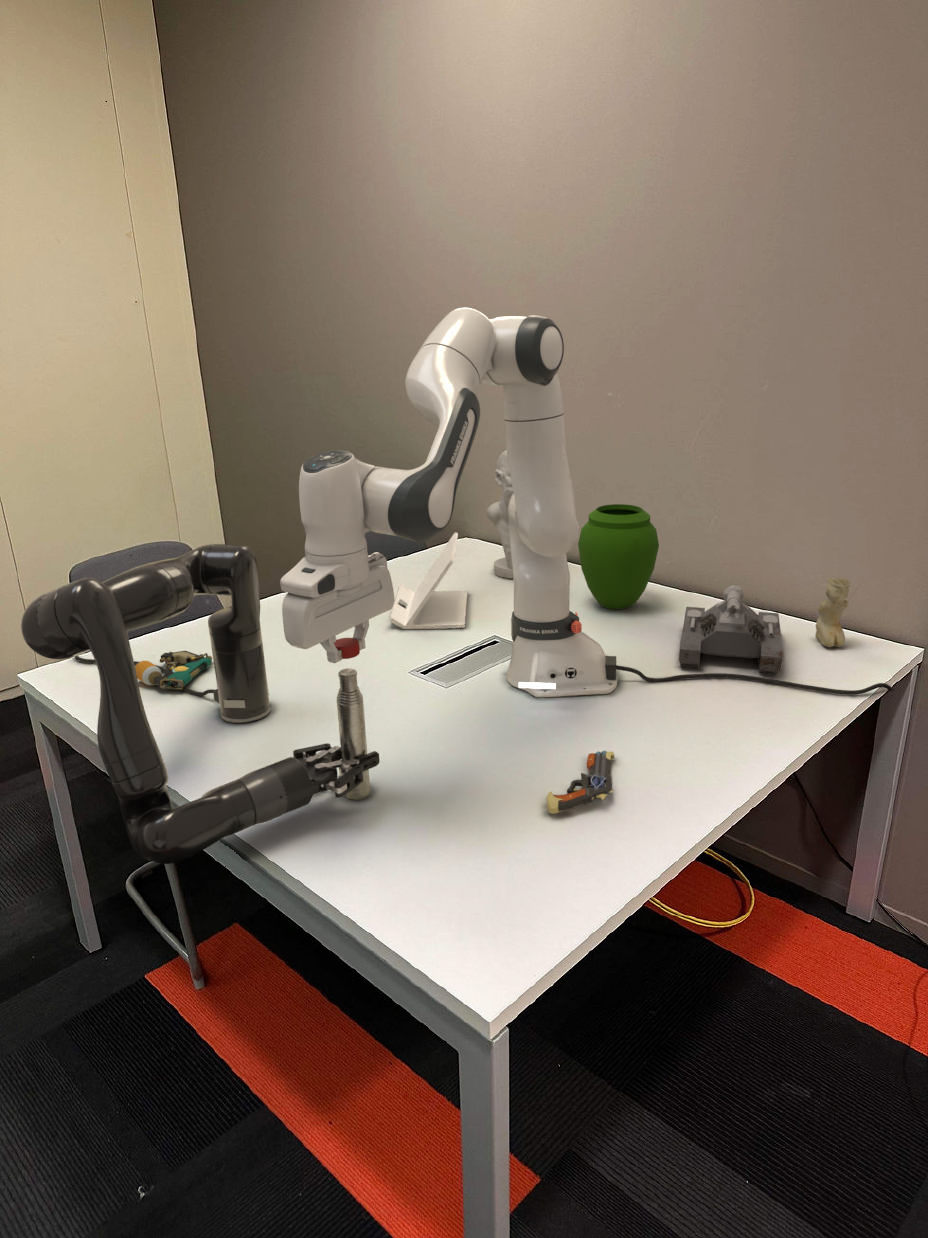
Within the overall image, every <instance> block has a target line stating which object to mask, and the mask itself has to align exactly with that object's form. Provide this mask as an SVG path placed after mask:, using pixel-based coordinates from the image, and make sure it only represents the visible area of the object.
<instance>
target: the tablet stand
mask: <svg viewBox="0 0 928 1238" xmlns="http://www.w3.org/2000/svg"><path fill="white" fill-rule="evenodd" d="M458 537H459V533H458V532H456V531H455V532H453V534H452V535H451V537H450V539H449V540H448V542H447V543H446V544H445V546H444V548H443V549H442V551H441V552H440V554H439V555H438V556H437V558H436V559H435V561H434V562H433V564H432V565H431V567H430V568H429V569H428V571H427V573H426V574H425V575H424V577H423V579H422V580H421V581H420V583H419V584H418V585H417V587H416V589H415V590H412V589H410V588H409V587H407V586H406V585H403V584H400V585H399V586H398V589H397V591H396V595H395V597H394V604H393V607H392V609H390V612H389V613H390V614H389V617H388V621H389V622H391V623H392V624H394V625H396V626H398V627H399V628H401V629H402V630H426V629H427V630H429V629H430V630H431V629H435V630H436V629H437V630H438V629H464V628H465V627H466V618H467V617H466V616H467V605H468V591H467V590H436V589H437V587H438V585H440V582H441V581H442V580H443V578H444V577H445V575H446V574H447V573H448V571H449V570H450V569H451V567H452V566H453V564H454V562H455V558H456V553H457V545H458ZM399 603H400V604H399ZM402 605H403V606H405V607H403V606H402Z"/></svg>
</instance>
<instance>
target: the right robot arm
mask: <svg viewBox="0 0 928 1238" xmlns="http://www.w3.org/2000/svg"><path fill="white" fill-rule="evenodd" d="M564 343H565V342H564V338H563V334H562V332H561V329H560V328H559V327H558V325H557V324H556V323H555V321H554V320H553V319H551V318H549V317H545V316H540V315H535V314H534V315H533V314H532V315H527V316H517V315H516V316H514V315H513V316H512V315H510V316H509V315H507V316H498V317H495V318H488V316H486V315H485V314H484V313H482V312H481V311H479V310H477V309H475V308H471V307H458V308H454V309H453V310H451V311H450V312H449V313H447V314H446V315H445V316H444V317H443V318H442V319H441V321H439V323H437V325H436V326H435V327H434V329H432V331H431V332H430V333H429V335H428V336H427V337H426V338H425V340H424V342H423V343H422V345H421V347H420V348H419V349H418V351H417V352H416V355H415V356H414V357H413V359H412V360H411V363H410V365H409V367H408V369H407V371H406V375H405V380H404V382H405V383H404V385H405V391H406V395H407V397H408V400H409V402H410V404H411V406H412V407H413V408H414V409H415V410H416V412H417V413H418V414H419V415H420V416H421V417H422V418H424V419H425V420H426V421H427V422H429V423H431V424H433V425H435V426H437V427H438V428H437V431H436V434H435V437H434V439H433V442H432V445H431V447H430V450H429V453H428V455H427V458H426V460H425V462H424V463H423V464H421V465H420V466H418V467H415V468H412V469H401V468H390V467H385V466H377V465H373V464H370V463H366V462H363V461H361V460H359V459H358V458H356V457H355V456H354V454H353V453H352V452H350V451H348V450H343V449H342V450H341V449H335V450H329V451H322V452H319V453H316V454H314V455H311V456H309V457H308V458H307V459H305V460H304V462H303V463H302V465H301V468H300V472H299V480H298V498H299V500H298V501H299V510H300V511H299V512H300V519H301V523H302V525H303V528H304V531H305V543H304V553H305V556H304V557H302V558H301V559H300V560H299V562H297V564H296V565H294V566H293V568H291V569H290V570H289V571H288V572H287V573H285V574H284V575H283V576H282V577H281V578H280V581H279V584H280V589H281V591H282V592H285V593H286V594H285V596H284V598H283V600H282V605H281V613H282V614H281V615H282V625H283V633H284V639H285V641H286V642H287V643H288V644H289V645H290V646H291V647H294V648H298V649H302V650H309V649H311V648H312V647H315V646H317V645H319V644H320V645H321V647H322V648H323V649H324V650H325V651H326V659H327V661H328V662H329V663H331V664H337V663H339V662H340V661H342V660H344V659H343V656H342V649H337V648H336V646H335V645H334V643H333V642H336V640H337V636H338V635H340V634H342V633H344V632H346V631H349V630H350V629H352V628H354V630H353V635H352V638H355V639H357V640H358V641H359V648H360V651H362V650H364V649H365V648H366V637H367V634H368V631H369V628H370V620H371V619H374V618H375V617H377V616H380V615H382V614H384V613H386V612H388V611H391V610H392V607H393V604H394V601H395V592H394V586H393V581H392V576H391V573H390V570H389V569H388V560H387V557H385V555H383V554H382V553H380V552H378V551H376V552H373V553H370V554H368V553H369V552H368V542H367V539H366V533H369V532H373V533H376V534H382V535H388V536H395V537H399V538H402V539H405V540H409V541H412V542H416V543H421V544H425V543H429V542H431V541H433V540H435V539H436V538H437V537H438V536H439V535H441V534H442V533H443V532H444V530H445V529H446V528H448V526H449V524H450V522H451V520H452V516H453V513H454V509H455V508H454V507H455V503H456V502H455V501H456V495H457V490H458V487H459V483H460V481H461V478H462V475H463V473H464V470H465V468H466V467H465V466H466V464H467V461H468V458H469V455H470V453H471V449H472V446H473V443H474V440H475V438H476V434H477V431H478V429H479V428H478V427H479V423H480V418H481V405H480V402H479V399H478V397H477V395H476V394H477V392H478V389H479V388H480V386H481V385H482V386H502V387H503V389H502V411H503V423H504V424H503V425H504V435H505V445H506V450H507V458H508V465H509V469H510V474H511V479H512V485H513V491H514V493H513V494H512V496H511V498H510V501H509V506H508V516H509V533H510V546H511V557H512V566H513V578H512V579H513V611H512V612H511V618H510V635H511V640H512V645H511V646H512V647H511V655H510V660H509V665H508V669H507V672H506V675H505V678H506V681H507V683H509V684H510V685H511V686H513V687H515V688H517V689H519V690H522V691H525V692H527V693H529V694H530V695H531V696H533V697H535V698H556V697H572V696H573V697H574V696H588V695H589V696H590V695H591V696H592V695H607V694H611V693H612V692H613V691H615V690H616V688H617V686H618V673H617V670H618V671H622V672H623V671H624V672H629V673H633V674H635V675H637V676H638V677H640V678H641V679H642V680H643V681H645V682H650V683H664V682H665V683H666V682H673V681H676V680H683V679H685V680H687V679H702V678H704V679H705V678H726V679H740V680H749V681H754V682H761V683H762V682H763V683H769V684H773V685H775V684H776V685H780V686H786V687H792V688H796V689H803V690H807V691H809V690H810V691H815V692H821V693H828V694H836V695H847V696H848V695H849V696H850V695H851V696H855V695H862V694H865V693H869V692H871V691H873V690H876V689H878V688H885V689H886V690H887V691H890V692H893V691H895V689H894V688H893V687H892V686H891V685H890V684H887V683H885V682H878V683H875V684H872V685H870V686H868V687H865V688H862V689H856V690H855V689H853V690H851V689H850V690H848V689H835V688H830V687H822V686H815V685H809V684H803V683H797V682H791V681H786V680H781V679H775V678H769V677H761V676H755V675H748V674H739V673H723V672H721V673H720V672H719V673H718V672H707V673H706V672H705V673H690V674H689V673H688V674H677V675H671V676H667V677H659V678H658V677H656V678H655V677H650V676H646V675H645V674H644V673H643V672H641V671H640V670H639V669H636V668H633V667H629V666H623V665H618V664H617V655H606V654H605V651H604V648H603V647H602V645H601V644H600V643H599V642H598V641H596V640H595V639H593V638H591V637H590V636H589V635H587V634H586V633H585V632H583V631H582V630H583V626H582V625H583V624H582V622H581V621H580V616H579V615H578V612H577V611H575V613H574V612H573V611H571V610H570V590H571V589H570V586H571V585H570V584H571V575H570V570H569V563H568V556H567V553H568V552H570V551H571V550H572V549H573V548H574V547H575V545H576V543H577V542H578V540H579V536H580V526H579V525H580V524H579V520H578V514H577V507H576V499H575V494H574V493H575V492H574V487H573V482H572V476H571V471H570V465H569V460H568V451H567V450H568V449H567V438H566V436H567V435H566V422H565V409H564V408H565V407H564V399H563V391H562V386H561V381H560V376H559V373H558V371H559V370H560V368H561V366H562V363H563V359H564V354H565V352H564V351H565V344H564Z"/></svg>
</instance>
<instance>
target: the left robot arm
mask: <svg viewBox="0 0 928 1238" xmlns="http://www.w3.org/2000/svg"><path fill="white" fill-rule="evenodd" d="M200 595H206V596H207V595H208V596H226V597H227V596H229V597H230V598H231V606H227V607H224V608H221V609H219V610H216V611H214V612H213V613H212V614H210V615H209V617H208V619H207V627H208V633H209V640H210V646H211V653H212V660H213V661H212V662H213V667H214V674H215V681H216V689H213V688H212V689H210V688H209V689H206V690H204V691H196V690H192V689H190V688H188V687H186V685H185V686H183V688H182V689H181V690H182V691H184V692H186V693H188V694H190V695H194V696H197V697H205V696H207V695H209V694H213V700H214V702H215V703H218V704H219V708H220V710H219V714H220V717H221V719H222V720H224V721H225V722H228V723H233V724H244V723H250V722H254V721H259V720H261V719H262V718H264V717H266V716H268V715H269V713H270V712H271V710H272V707H271V706H272V705H271V703H270V702H271V701H270V695H269V686H268V679H267V677H268V675H267V668H266V660H265V652H264V644H263V643H264V642H263V636H262V629H261V620H260V619H261V597H260V582H259V569H258V561H257V557H256V554H255V552H254V551H253V549H252V548H251V547H250V546H248V545H244V544H223V543H221V544H220V543H210V544H203V545H201V546H198V547H196V548H194V549H192V550H190V551H188V552H187V553H183V554H182V555H180V556H177V557H172V558H166V559H161V560H156V561H152V562H149V563H145V564H142V565H138V566H135V567H133V568H130V569H128V570H125V571H123V572H121V573H119V574H117V575H114V576H113V577H110V578H108V579H106V580H104V581H101V580H98V579H96V578H93V577H84V578H80V579H78V580H74V581H72V582H70V583H67V584H65V585H63V586H59V587H57V588H54V589H53V590H50V591H48V592H46V593H43V594H41V595H39V596H38V597H36V598H35V599H34V600H32V601H31V603H29V604H28V606H27V607H26V609H25V610H24V612H23V614H22V618H21V622H20V623H21V624H20V630H21V634H22V638H23V640H24V642H25V643H26V645H27V646H28V647H29V648H30V649H31V651H33V652H34V653H36V654H37V655H39V656H41V657H44V658H47V659H50V660H57V661H58V660H69V659H72V658H73V659H75V660H77V661H78V662H81V663H88V664H96V667H97V670H98V671H97V672H98V675H99V684H100V686H99V689H100V698H99V708H98V717H97V726H96V727H97V728H96V731H97V732H96V736H97V745H98V751H99V753H100V757H101V760H102V763H103V765H104V767H105V770H106V773H107V775H108V777H109V780H110V782H111V783H112V784H111V785H112V787H113V790H114V791H115V793H116V795H117V799H118V801H119V807H120V812H121V816H122V819H123V823H124V827H125V831H126V834H127V836H128V840H129V842H130V844H131V846H132V848H133V849H134V851H135V852H136V854H137V855H138V856H139V857H140V858H142V859H143V860H146V861H150V862H154V863H157V864H161V865H170V864H175V863H178V862H181V861H183V860H186V859H188V858H190V857H193V856H195V855H197V854H198V853H200V852H202V851H204V850H206V849H207V848H209V847H211V846H212V845H214V844H216V843H217V842H219V841H220V840H222V839H223V838H226V837H230V836H232V835H235V834H237V833H240V832H242V831H244V830H246V829H249V828H251V827H253V826H256V825H260V824H264V823H266V822H267V823H268V822H270V821H272V820H275V819H276V818H278V817H281V816H283V815H287V814H288V813H291V812H294V811H295V810H298V809H300V808H302V807H305V806H307V805H308V804H309V803H310V802H311V801H312V799H313V797H314V796H315V795H316V794H319V793H325V792H328V791H330V792H333V793H334V796H335V798H336V799H342V798H343V797H346V796H345V795H346V794H347V793H349V792H350V791H351V790H353V789H354V788H355V787H357V786H358V785H359V784H361V783H362V782H363V771H366V770H368V769H369V770H370V769H373V768H375V767H377V766H378V765H379V764H380V762H381V761H380V754H379V753H380V752H378V751H376V750H374V751H371V752H367V754H366V755H363V756H361V757H359V758H357V759H354V760H350V761H346V762H344V761H343V760H342V755H341V746H339V745H334V746H331V744H330V743H328V742H327V743H322V744H321V743H320V744H317V745H312V746H308V747H307V746H306V747H303V748H298V749H294V750H292V756H289V757H285V758H284V759H281V760H279V761H276V762H274V763H271V764H268V765H266V766H263V767H261V768H258V769H256V770H253V771H251V772H249V773H247V774H245V775H243V776H241V777H239V778H237V779H235V780H232V781H230V782H227V783H225V784H222V785H220V786H217V787H214V788H211V789H209V790H208V791H206V792H205V793H204V794H202V796H201V797H199V798H196V799H195V800H192V801H189V802H185V803H184V804H181V805H179V806H178V805H177V806H175V807H174V805H173V802H172V800H171V796H170V794H169V793H170V792H169V791H168V787H167V785H168V782H169V773H168V769H167V766H166V764H165V762H164V759H163V755H162V754H161V751H160V749H159V746H158V744H157V740H156V738H155V736H154V734H153V730H152V728H151V725H150V723H149V720H148V717H147V714H146V710H145V706H144V702H143V699H142V695H141V689H140V684H139V679H137V674H136V669H135V666H136V665H137V664H138V663H139V662H140V661H137V660H135V659H134V656H133V652H132V648H131V643H130V639H129V635H128V632H131V631H135V630H138V629H141V628H146V627H149V626H152V625H155V624H159V623H162V622H165V621H167V620H169V619H172V618H174V617H177V616H179V615H180V614H183V612H185V611H186V610H187V609H189V607H190V606H191V604H192V603H193V601H194V598H195V596H200ZM88 652H91V655H92V656H93V657H92V658H93V659H92V658H91V659H90V658H83V657H80V655H82V654H85V653H88ZM154 665H155V666H157V667H158V668H159V669H160V670H161V672H163V673H164V671H165V670H166V669H167V668H165V667H162V666H160V665H157V664H154ZM179 688H181V687H179ZM349 767H352V769H351V770H349V771H348V772H346V768H349ZM338 772H339V773H338ZM354 778H355V779H354Z"/></svg>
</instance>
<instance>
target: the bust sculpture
mask: <svg viewBox="0 0 928 1238" xmlns="http://www.w3.org/2000/svg"><path fill="white" fill-rule="evenodd" d="M494 480H495V482H496V484H497V486H498V487H501V488H502V494H501V497H500V499H499V501H496V502H494V503H492V504H491V505H490V506H488V508H487V509H486V513H485V514H486V517H487V518H488V519H489V520H490V522H491V523H492V524H493V526H494V527H495V529H496V532H497V534H498V537H499V540H500V542H501V546H502V548H503V553H504V557H502V558H498V559H496V560H495V561H494V562H493V573H494V574H495V575H496V576H497V577H500V578H506V579H513V566H512V557H511V546H510V533H509V516H508V506H509V501H510V498H511V496H512V494H513V493H514V491H513V485H512V479H511V474H510V469H509V465H508V458H507V449H506V450H504V451H502V452H501V454H500V455H499V457H498V459H497V461H496V468H495V471H494Z"/></svg>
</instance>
